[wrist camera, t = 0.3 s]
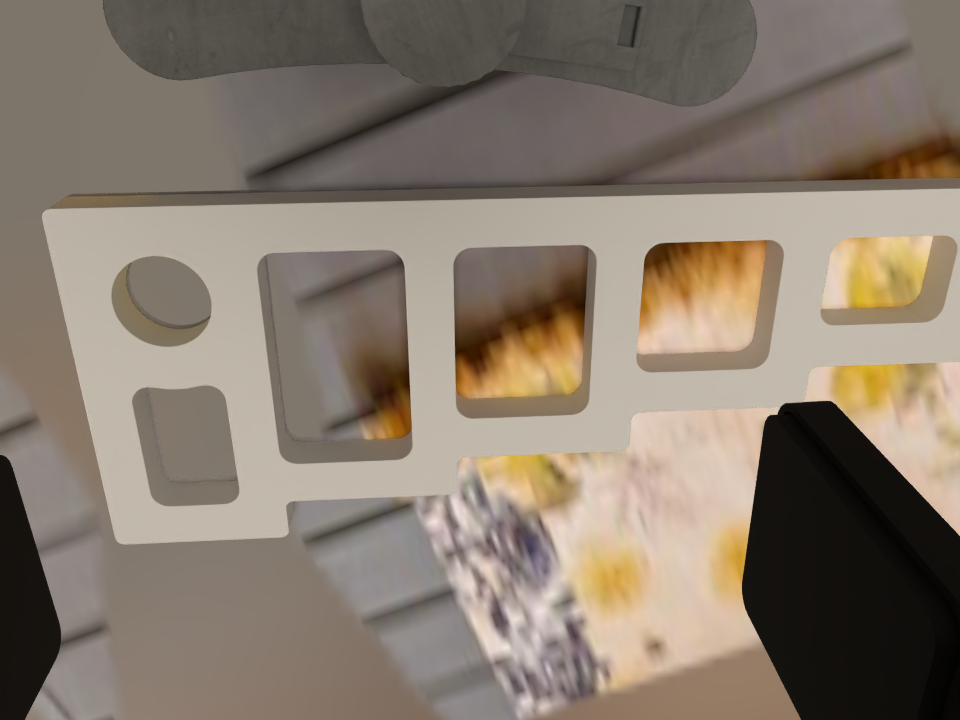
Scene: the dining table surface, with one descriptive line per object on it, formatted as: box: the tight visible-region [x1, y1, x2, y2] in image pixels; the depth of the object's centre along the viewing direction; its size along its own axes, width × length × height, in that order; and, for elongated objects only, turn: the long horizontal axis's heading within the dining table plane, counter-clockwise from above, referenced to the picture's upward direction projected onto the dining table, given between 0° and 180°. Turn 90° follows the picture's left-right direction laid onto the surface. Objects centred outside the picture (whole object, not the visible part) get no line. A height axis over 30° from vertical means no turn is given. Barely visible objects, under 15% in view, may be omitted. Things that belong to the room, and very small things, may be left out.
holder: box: [42, 178, 960, 544], centre depth 43 cm, size 45×18×3 cm, turn 90°
